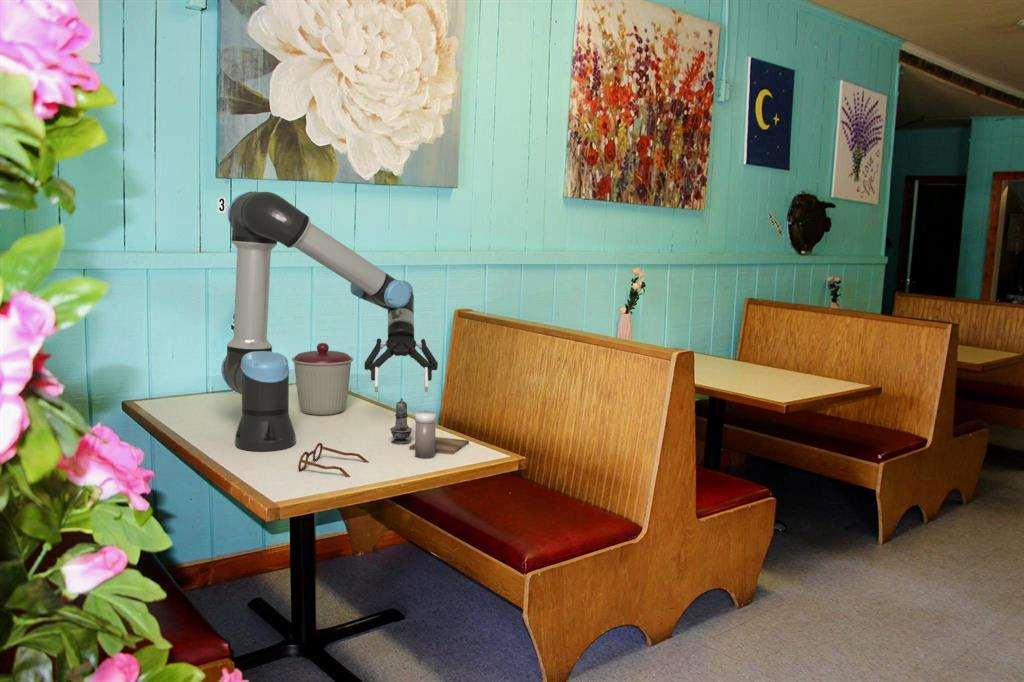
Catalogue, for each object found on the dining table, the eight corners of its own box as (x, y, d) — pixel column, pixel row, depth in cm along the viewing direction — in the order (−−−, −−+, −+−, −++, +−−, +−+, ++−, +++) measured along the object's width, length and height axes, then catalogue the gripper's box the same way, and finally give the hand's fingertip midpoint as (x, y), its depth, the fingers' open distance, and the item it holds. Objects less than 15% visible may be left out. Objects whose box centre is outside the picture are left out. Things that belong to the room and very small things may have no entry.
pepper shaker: (430, 459, 221) (431, 416, 219) (411, 457, 222) (412, 414, 221) (438, 454, 226) (439, 412, 224) (419, 452, 227) (420, 410, 226)
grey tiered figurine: (401, 438, 241) (402, 394, 239) (416, 442, 237) (417, 398, 235) (385, 442, 236) (385, 397, 235) (400, 446, 233) (401, 401, 231)
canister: (358, 406, 278) (358, 339, 275) (346, 419, 260) (346, 348, 257) (300, 404, 278) (300, 337, 275) (284, 417, 260) (284, 346, 257)
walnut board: (452, 454, 226) (452, 451, 226) (409, 449, 230) (409, 446, 229) (468, 443, 238) (468, 440, 237) (427, 438, 241) (427, 435, 241)
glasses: (318, 460, 219) (318, 440, 218) (369, 464, 217) (369, 444, 216) (296, 475, 206) (296, 454, 206) (350, 479, 204) (350, 458, 203)
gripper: (356, 319, 251) (355, 381, 238) (445, 320, 254) (448, 381, 242) (357, 335, 257) (355, 396, 244) (443, 336, 260) (446, 396, 248)
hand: (401, 389), depth 243 cm, fingers open, 13 cm apart
